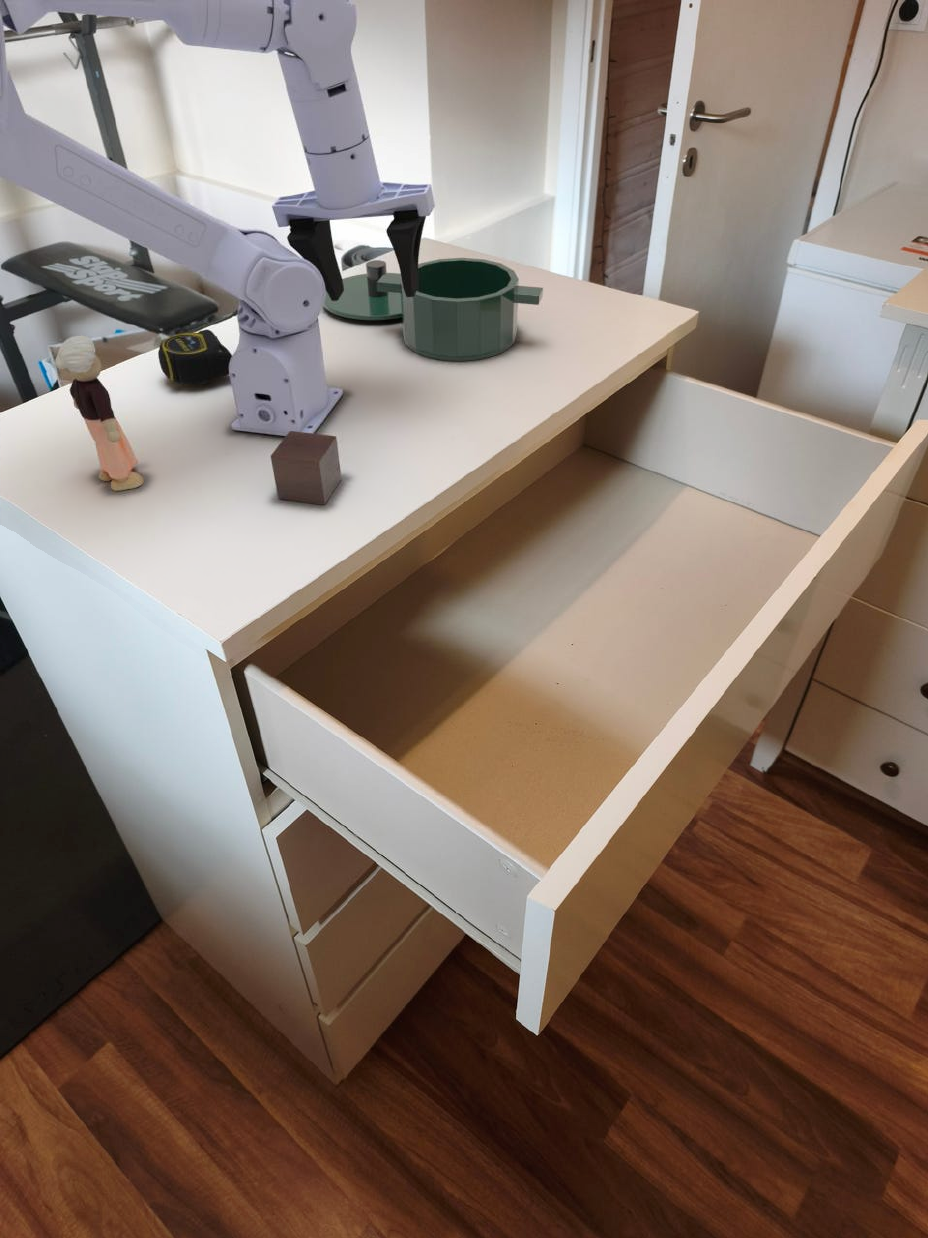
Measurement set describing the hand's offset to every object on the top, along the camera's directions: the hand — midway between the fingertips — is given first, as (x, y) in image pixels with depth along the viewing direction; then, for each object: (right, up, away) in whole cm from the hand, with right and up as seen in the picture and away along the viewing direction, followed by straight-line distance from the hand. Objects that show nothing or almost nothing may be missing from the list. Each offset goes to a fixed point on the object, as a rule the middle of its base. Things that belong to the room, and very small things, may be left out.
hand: (374, 293), depth 81 cm
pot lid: (-2, +8, +22) cm, 23 cm away
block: (-5, -20, -8) cm, 22 cm away
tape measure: (-19, -6, +8) cm, 21 cm away
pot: (+8, +1, +14) cm, 17 cm away
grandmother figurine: (-22, -19, -7) cm, 29 cm away
